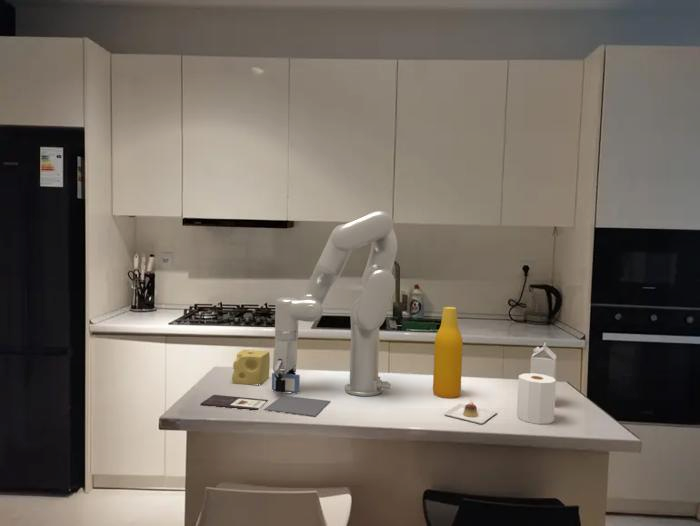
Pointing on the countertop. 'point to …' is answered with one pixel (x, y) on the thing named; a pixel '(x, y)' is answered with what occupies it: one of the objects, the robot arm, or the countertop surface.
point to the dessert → (470, 412)
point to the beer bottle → (448, 356)
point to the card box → (288, 382)
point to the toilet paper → (536, 398)
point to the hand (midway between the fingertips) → (285, 387)
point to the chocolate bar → (234, 402)
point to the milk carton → (543, 361)
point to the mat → (298, 405)
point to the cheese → (251, 367)
